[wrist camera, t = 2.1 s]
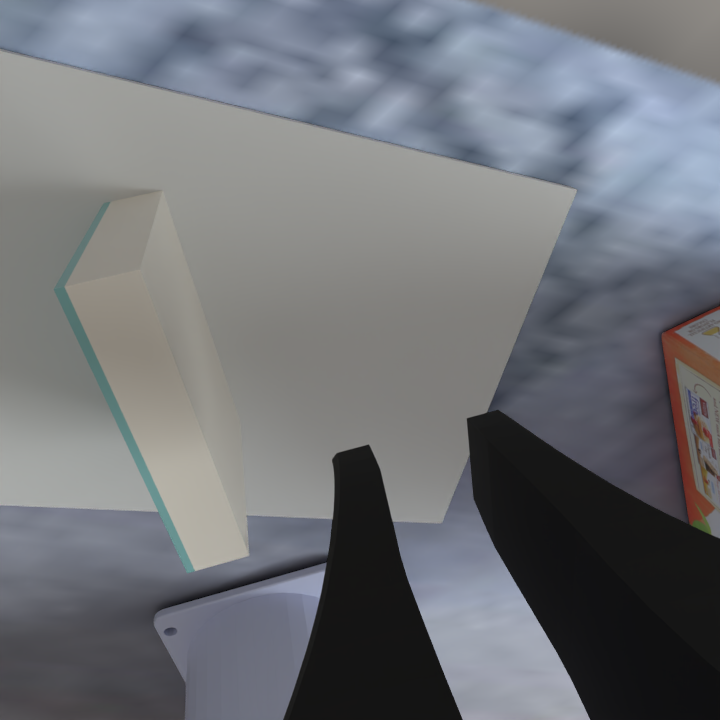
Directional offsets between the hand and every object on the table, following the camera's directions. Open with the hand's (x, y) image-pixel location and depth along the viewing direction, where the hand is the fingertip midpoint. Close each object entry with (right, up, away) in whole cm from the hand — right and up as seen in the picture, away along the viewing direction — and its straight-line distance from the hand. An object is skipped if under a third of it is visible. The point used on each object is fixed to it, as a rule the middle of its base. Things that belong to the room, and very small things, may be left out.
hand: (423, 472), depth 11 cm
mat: (-6, +3, +8) cm, 10 cm away
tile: (-7, +3, +7) cm, 10 cm away
